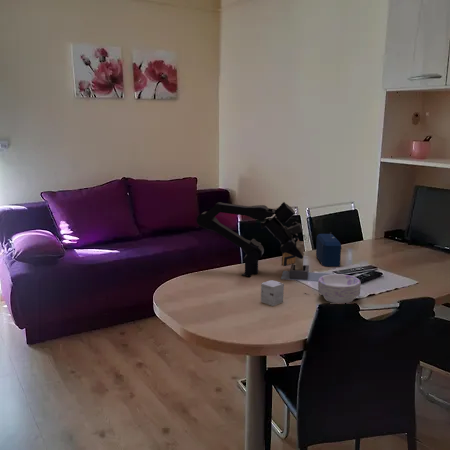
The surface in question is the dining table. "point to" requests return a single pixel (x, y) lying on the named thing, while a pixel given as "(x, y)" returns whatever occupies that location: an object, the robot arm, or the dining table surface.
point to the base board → (311, 277)
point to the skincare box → (272, 292)
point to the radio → (328, 250)
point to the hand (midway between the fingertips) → (302, 256)
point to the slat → (297, 260)
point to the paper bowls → (339, 288)
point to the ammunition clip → (288, 259)
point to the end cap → (299, 272)
